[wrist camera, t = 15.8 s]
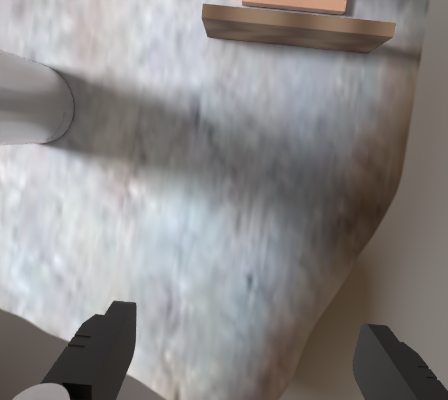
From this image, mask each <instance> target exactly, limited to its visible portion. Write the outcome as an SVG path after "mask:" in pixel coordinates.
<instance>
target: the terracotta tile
mask: <svg viewBox="0 0 448 400" xmlns="http://www.w3.org/2000/svg"><path fill="white" fill-rule="evenodd" d="M346 2H347V0H242V5H247V6H257V7H267V8H277V9H287V10H297V11H307V12H317V13H327V14H337V15H342V14H343V13H344V12H345V8H346Z"/></svg>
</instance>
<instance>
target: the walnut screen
mask: <svg viewBox="0 0 448 400" xmlns="http://www.w3.org/2000/svg"><path fill="white" fill-rule="evenodd" d="M202 20H203V23H204V27H205V30H206V33H207V37H213V38H223V39H233V40H242V41H252V42H262V43H272V44H282V45H292V46H301V47H311V48H321V49H331V50H341V51H351V52H360V53H369V52H370V51H372V50H373V49H375V48H377V47H378V46H380V45H381V44H383V43H385V42H386V41H388V40H389V39H391V38H392V37H393V36H394V31H395V26H396V23H390V22H380V21H370V20H360V19H350V18H340V17H330V16H320V15H310V14H300V13H290V12H280V11H270V10H260V9H250V8H240V7H230V6H220V5H210V4H203V9H202Z"/></svg>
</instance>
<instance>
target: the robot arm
mask: <svg viewBox="0 0 448 400" xmlns="http://www.w3.org/2000/svg"><path fill="white" fill-rule="evenodd" d="M73 114H74V103H73V97H72V94H71V91H70V89H69V87H68V85H67V84H66V82H65V81H64V79H63V78H62V77H61V76H60V75H59V74H58V73H56V72H55V71H54V70H52V69H51V68H48V67H46V66H44V65H41V64H39V63H36V62H33V61H30V60H27V59H25V58H22V57H19V56H17V55H14V54H11V53H8V52H5V51H2V50H0V145H15V144H39V143H48V142H52V141H54V140H56V139H58V138H59V137H61V136H62V135H63V134H64V133H65V132H66V131H67V129H68V128H69V126H70V124H71V122H72V118H73ZM135 343H136V303H135V302H123V301H113V302H112V304H111V305H110V307H109V309H108V310H107V312H106V313H105V315H98V314H95V315H94V316H92V317H91V318H90V319H88V320H87V321H85V322H84V323H83V324H82V325H81V327H80V328H79V329H78V331H77V332H76V334H75V336H74V337H73V338H72V339H71V341H70V342H69V344H68V347H66V348H65V349H64V351H63V352H62V354H61V355H60V356H59V358H58V359H57V361H56V362H55V364H54V365H53V366H52V368H51V369H50V371H49V372H48V374H47V375H46V376H45V378H44V379H43V381H42V382H41V383H40V384H39V385H36V386H33V387H31V388H28V389H27V390H24V391H23V392H21V393H20V394H18V395H17V396H16V397H15V398H14V399H12V400H116V398H117V395H118V393H119V391H120V388H121V386H122V383H123V380H124V378H125V375H126V373H127V370H128V368H129V365H130V363H131V360H132V358H133V354H134V350H135ZM353 372H354V377H355V380H356V382H357V384H358V386H359V388H360V390H361V392H362V394H363V396H364V398H365V400H448V391H447V390H446V388H445V387H444V386H443V385H442V383H441V382H440V381H439V380H437V377H436V376H435V374H434V373H433V372H432V371H431V369H429V368H428V366H427V364H426V363H425V362H424V361H423V359H422V358H421V357H420V356H419V354H418V353H416V352H415V351H414V350H413V349H411V348H410V347H409V346H407V345H406V344H405V343H404V342H399V340H398V339H397V338H396V336H395V335H394V334H393V332H392V331H391V330H390V328H389V327H388V326H385V325H374V324H363V325H362V326H361V329H360V333H359V337H358V341H357V346H356V350H355V354H354V359H353Z"/></svg>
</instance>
